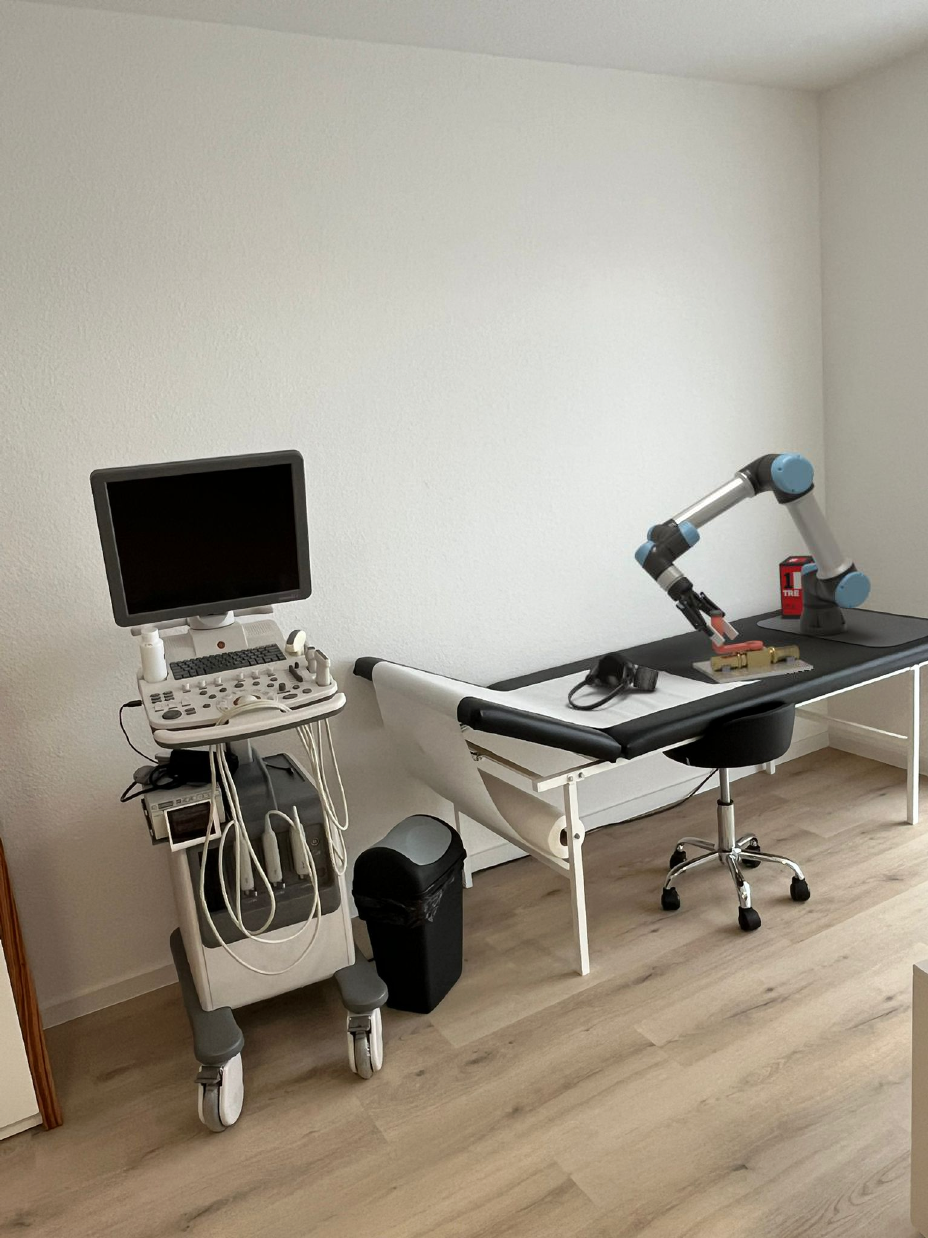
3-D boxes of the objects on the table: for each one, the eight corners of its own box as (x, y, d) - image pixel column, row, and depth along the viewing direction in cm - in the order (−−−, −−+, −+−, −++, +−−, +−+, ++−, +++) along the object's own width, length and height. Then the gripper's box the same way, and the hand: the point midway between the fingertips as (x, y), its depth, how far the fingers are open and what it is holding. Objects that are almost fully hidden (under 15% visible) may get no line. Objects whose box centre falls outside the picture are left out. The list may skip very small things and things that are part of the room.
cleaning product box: (792, 609, 362) (789, 556, 358) (817, 609, 358) (814, 555, 354) (781, 619, 348) (779, 563, 345) (807, 619, 344) (805, 563, 340)
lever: (758, 644, 291) (756, 603, 289) (765, 648, 286) (763, 606, 284) (709, 652, 289) (706, 610, 287) (716, 655, 284) (713, 613, 282)
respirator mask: (668, 675, 281) (645, 640, 271) (638, 746, 270) (613, 712, 260) (603, 669, 296) (579, 635, 286) (572, 736, 285) (546, 703, 275)
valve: (779, 654, 302) (778, 635, 301) (812, 669, 281) (812, 649, 280) (693, 667, 298) (691, 648, 297) (720, 683, 278) (719, 663, 277)
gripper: (685, 586, 301) (737, 640, 294) (650, 599, 287) (703, 656, 279) (700, 569, 297) (752, 624, 289) (664, 582, 282) (719, 640, 274)
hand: (728, 640), depth 284 cm, fingers open, 8 cm apart
